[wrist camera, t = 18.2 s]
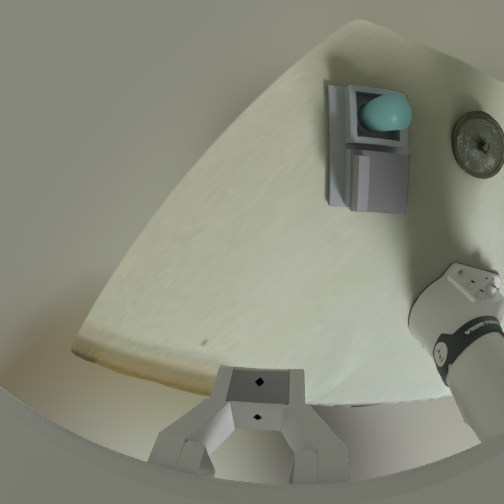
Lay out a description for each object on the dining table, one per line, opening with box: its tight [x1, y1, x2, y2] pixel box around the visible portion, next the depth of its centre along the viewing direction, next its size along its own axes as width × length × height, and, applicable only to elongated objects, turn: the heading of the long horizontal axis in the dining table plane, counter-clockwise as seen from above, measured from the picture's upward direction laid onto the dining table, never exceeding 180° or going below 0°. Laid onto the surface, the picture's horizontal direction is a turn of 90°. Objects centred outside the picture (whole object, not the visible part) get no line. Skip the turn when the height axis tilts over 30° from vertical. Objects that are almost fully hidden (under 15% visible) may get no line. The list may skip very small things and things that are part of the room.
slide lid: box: [350, 149, 410, 214], centre depth 27 cm, size 7×7×3 cm
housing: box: [327, 84, 409, 209], centre depth 29 cm, size 16×11×4 cm
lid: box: [453, 111, 504, 179], centre depth 26 cm, size 11×10×5 cm
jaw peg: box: [357, 92, 412, 132], centre depth 25 cm, size 4×4×8 cm
